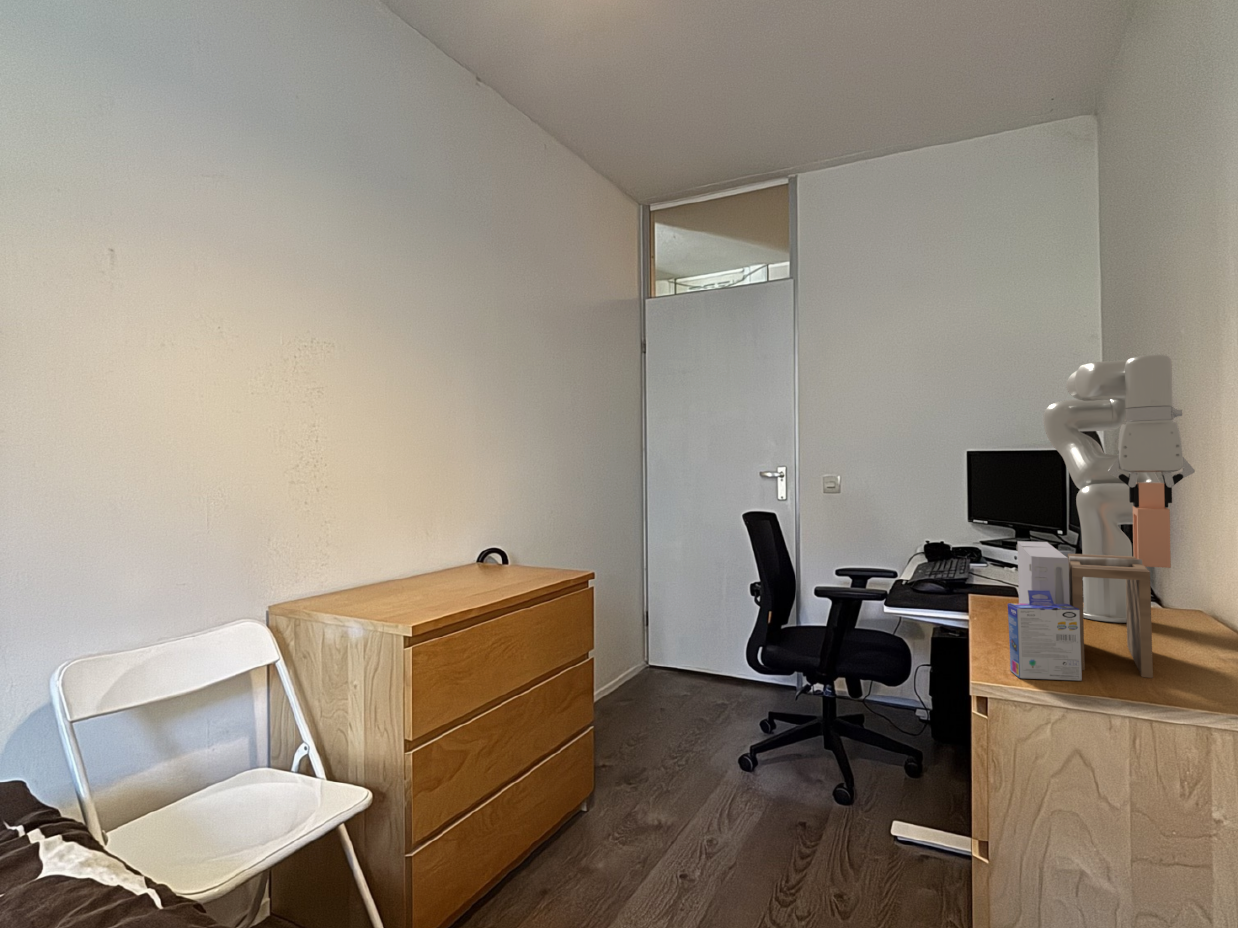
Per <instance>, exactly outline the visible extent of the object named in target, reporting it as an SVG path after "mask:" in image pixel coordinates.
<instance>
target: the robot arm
mask: <svg viewBox="0 0 1238 928" xmlns="http://www.w3.org/2000/svg"><path fill="white" fill-rule="evenodd" d="M1066 390H1067V392H1068V393H1069V395H1071V397H1073V398H1074V399H1067V400H1065V399H1064V400H1061V401H1059V400H1058V401H1057V402H1054V403H1051V404H1049V405H1048V406H1047V407H1046V408H1045V410H1044V412H1043V420H1042V421H1043V427H1044V430H1045V434H1046V437H1047V439H1048V441H1049V442H1050V444H1051V446H1053V448H1055V450H1056V451H1057V452H1058V453H1059V455H1060V456H1061V457H1062V459H1063V461H1064V464H1065V467H1066V468H1067V470H1068V473H1069V475H1070V477H1071V480H1072V481H1073V483H1074V485H1075V486H1076V488H1078V489H1079V490H1078V493H1077V494H1076V497H1075V498H1076V499H1075V500H1076V502H1075V503H1076V509H1077V514H1078V518H1079V523H1080V531H1081V550H1082V553H1081V554H1088V555H1111V556H1133V544H1132V542H1131V540H1130V538H1129V536H1127V535H1126V533H1125V532H1123V531H1122V529H1121V528H1120V527H1119V525H1133V506H1134V507H1138V506H1139V488H1138V487H1137V484H1136V483H1162V482H1161V481H1160V479H1159V478H1158V476H1157V474H1156V473H1160V474H1161V476H1162V481H1163V483H1164V501H1165V507H1166V508H1168V509H1170V510H1171V504H1172V503H1173V487H1174V486H1175V485H1176V484H1178V483H1179V482H1180V481H1182V480H1183V479H1185V478H1187V477H1189V476H1190V475H1192V474H1194V473H1195V471H1196V470H1195V469H1194V467H1193V466H1192V465H1191V464H1190V463H1189V462H1188V461H1187V460H1186V458H1185V457H1184V456H1183V448H1182V446H1183V445H1182V440H1181V439H1182V437H1181V433H1180V429H1179V426H1178V422H1174V419H1175V418H1177V417H1182V416H1183V409H1177V408H1174V406H1173V364H1172V359H1171V357H1170V356H1168V355H1166V354H1147V355H1139V356H1133V357H1130V358H1129V359H1123V360H1121V359H1119V360H1111V361H1110V360H1108V361H1107V360H1106V361H1105V360H1104V361H1095V362H1089V363H1085V364H1081V365H1080V366H1079V367H1078V369H1077V370H1075V371H1074V372H1072V373H1071V375H1069V377H1068V378H1067V380H1066ZM1118 429H1119V434H1118V441H1117V442H1118V443H1117V454H1113V453H1109V454H1108V453H1105V452H1104V450H1103V449H1102V446H1101V445H1100V444H1099V442H1098V441H1096V440H1095V439H1094V438H1093V437H1091V436H1090V435H1088V434H1085V433H1083V432H1103V431H1105V432H1108V431H1115V430H1118ZM1180 470H1181V471H1180ZM1173 472H1178V473H1175V474H1174V475H1173V474H1172V473H1173ZM1082 582H1083V619H1086V620H1087V619H1089V620H1093V621H1098V622H1099V621H1100V622H1106V623H1123V624H1125V623H1126V624H1127V612H1126V579H1112V578H1094V577H1082Z"/></svg>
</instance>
